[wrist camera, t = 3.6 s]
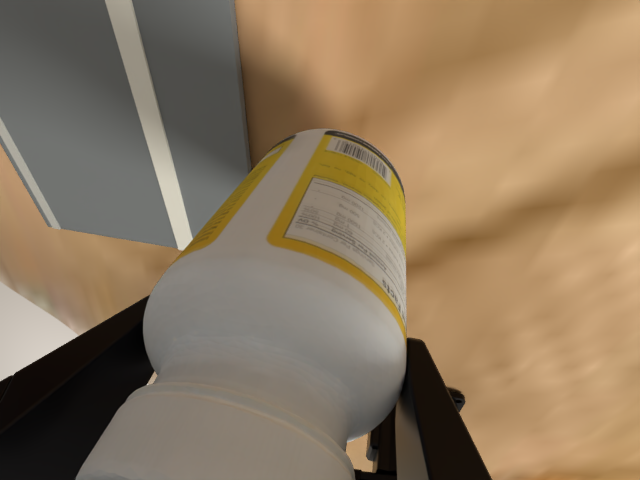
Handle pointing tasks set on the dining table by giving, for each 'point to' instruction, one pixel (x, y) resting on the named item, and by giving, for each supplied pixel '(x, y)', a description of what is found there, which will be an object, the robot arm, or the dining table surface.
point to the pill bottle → (274, 326)
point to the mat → (124, 113)
